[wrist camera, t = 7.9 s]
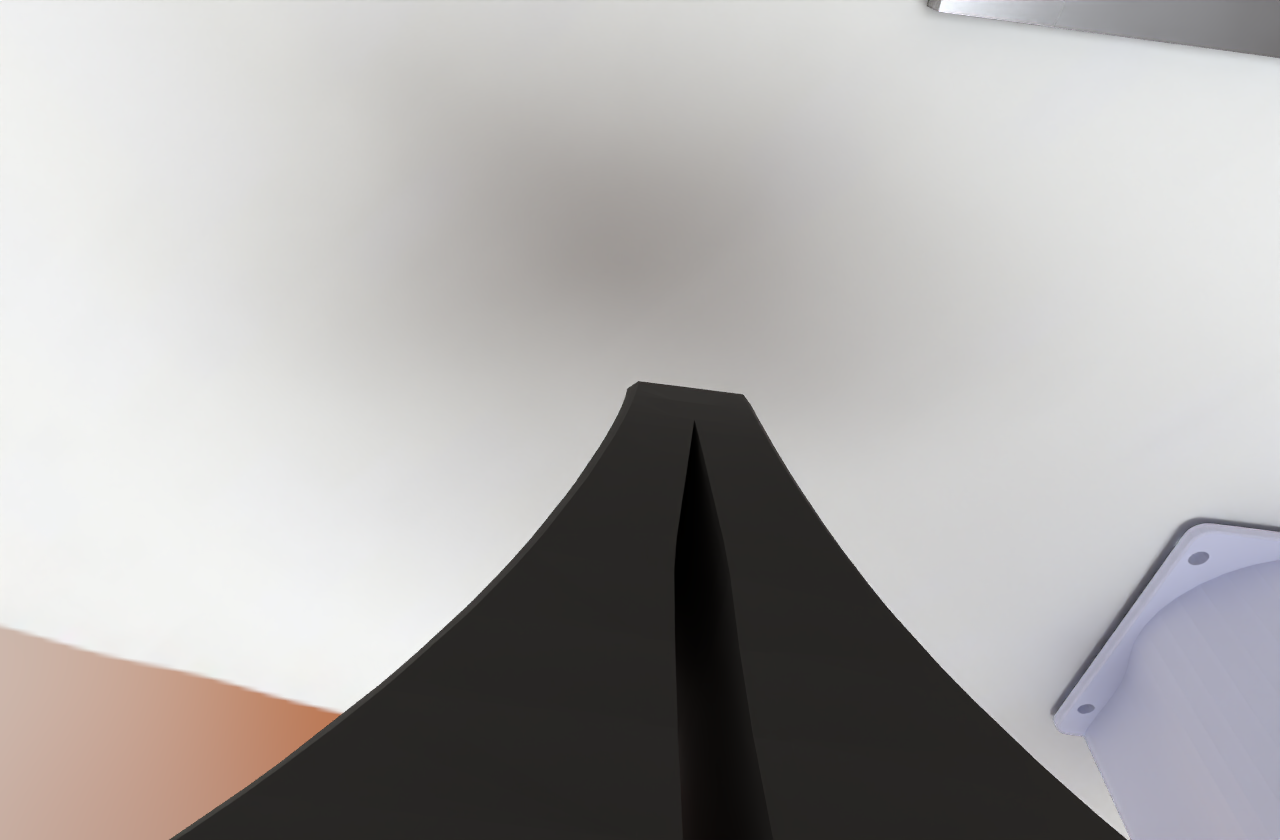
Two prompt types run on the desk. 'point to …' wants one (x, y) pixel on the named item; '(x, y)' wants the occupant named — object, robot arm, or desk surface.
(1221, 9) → the gauge bed
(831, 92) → the desk surface
